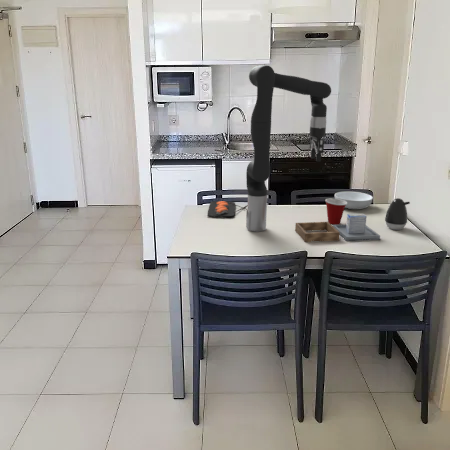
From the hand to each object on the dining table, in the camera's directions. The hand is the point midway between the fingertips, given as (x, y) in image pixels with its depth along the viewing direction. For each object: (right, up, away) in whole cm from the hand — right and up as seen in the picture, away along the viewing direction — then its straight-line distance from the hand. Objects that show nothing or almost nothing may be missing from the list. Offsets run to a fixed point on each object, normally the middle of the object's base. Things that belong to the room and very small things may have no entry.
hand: (315, 159), depth 227 cm
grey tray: (+17, -36, -8) cm, 41 cm away
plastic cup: (+11, -31, +8) cm, 34 cm away
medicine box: (+17, -36, -8) cm, 40 cm away
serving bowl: (+28, -22, +37) cm, 51 cm away
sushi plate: (-38, -25, +29) cm, 54 cm away
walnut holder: (-2, -37, -10) cm, 38 cm away
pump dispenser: (+39, -34, +1) cm, 52 cm away
